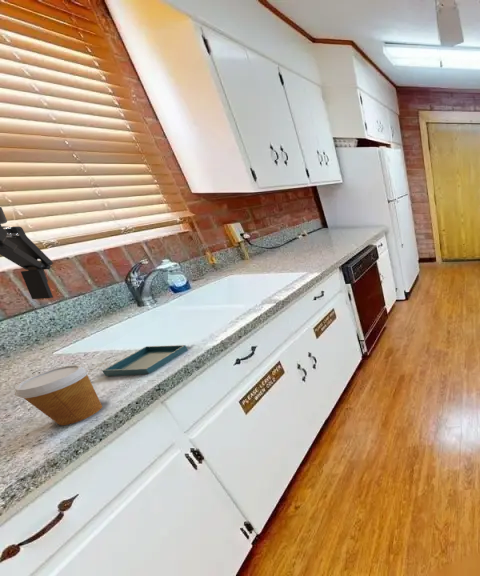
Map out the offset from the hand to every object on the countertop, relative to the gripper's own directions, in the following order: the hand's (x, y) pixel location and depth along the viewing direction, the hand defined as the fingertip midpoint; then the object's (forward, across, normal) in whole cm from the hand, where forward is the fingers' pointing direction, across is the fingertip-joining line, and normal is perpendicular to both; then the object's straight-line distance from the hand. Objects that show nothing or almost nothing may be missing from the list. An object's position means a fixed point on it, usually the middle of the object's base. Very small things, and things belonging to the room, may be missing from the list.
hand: (8, 308), depth 62 cm
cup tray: (+26, +22, -4) cm, 34 cm away
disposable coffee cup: (+29, +1, -3) cm, 29 cm away
